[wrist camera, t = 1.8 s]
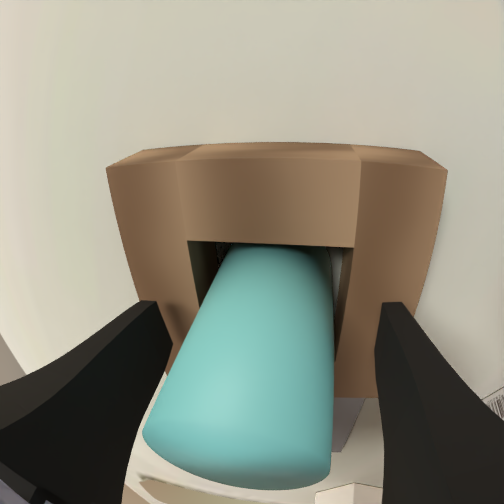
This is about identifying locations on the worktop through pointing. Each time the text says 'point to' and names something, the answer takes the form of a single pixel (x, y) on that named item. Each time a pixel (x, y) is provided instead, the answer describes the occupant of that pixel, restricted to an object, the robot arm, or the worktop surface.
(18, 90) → the worktop surface
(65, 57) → the worktop surface
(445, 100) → the worktop surface
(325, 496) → the milk
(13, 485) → the robot arm
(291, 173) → the socket block
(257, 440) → the plug
